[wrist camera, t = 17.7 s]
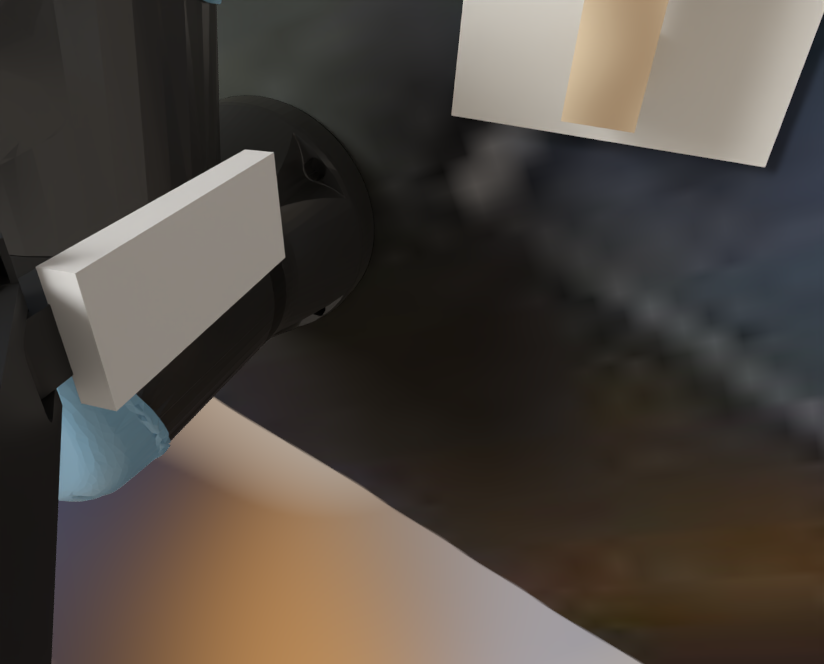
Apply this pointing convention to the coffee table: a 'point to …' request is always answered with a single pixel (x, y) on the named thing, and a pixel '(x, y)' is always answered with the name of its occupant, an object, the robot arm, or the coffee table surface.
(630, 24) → the beige piece
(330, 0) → the coffee table surface
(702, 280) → the coffee table surface
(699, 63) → the rest board
